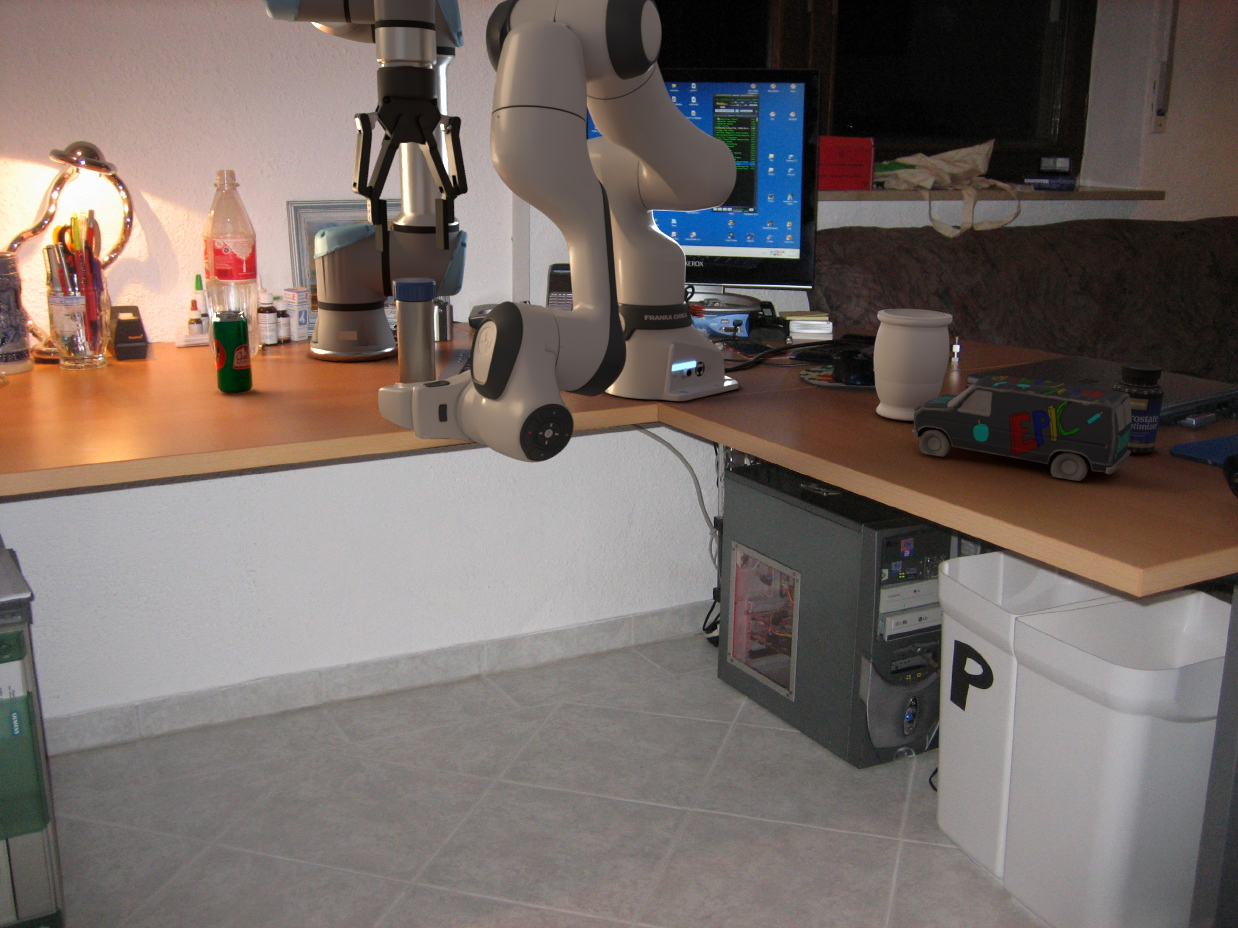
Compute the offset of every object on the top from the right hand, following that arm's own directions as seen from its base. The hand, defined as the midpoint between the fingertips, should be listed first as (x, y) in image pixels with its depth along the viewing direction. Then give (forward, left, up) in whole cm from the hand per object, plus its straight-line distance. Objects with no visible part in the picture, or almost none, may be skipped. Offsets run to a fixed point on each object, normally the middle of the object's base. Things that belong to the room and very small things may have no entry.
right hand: (432, 384), depth 143 cm
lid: (0, -4, +13) cm, 14 cm away
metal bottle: (0, -4, -6) cm, 7 cm away
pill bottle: (-73, +57, -6) cm, 93 cm away
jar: (-62, +29, -6) cm, 68 cm away
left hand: (0, -4, +17) cm, 18 cm away
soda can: (+16, -35, -6) cm, 39 cm away
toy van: (-55, +52, -6) cm, 76 cm away
